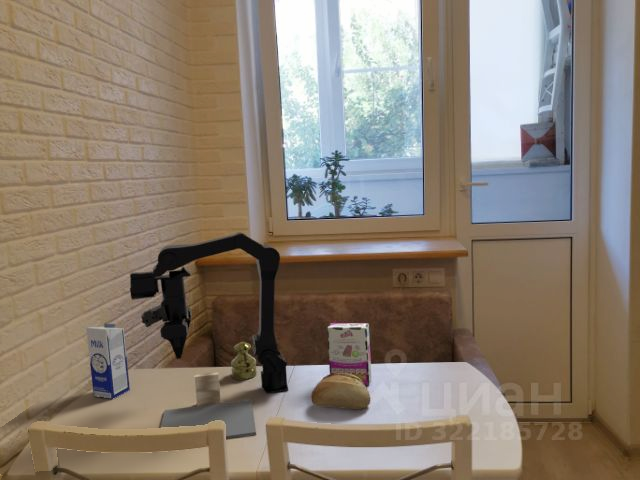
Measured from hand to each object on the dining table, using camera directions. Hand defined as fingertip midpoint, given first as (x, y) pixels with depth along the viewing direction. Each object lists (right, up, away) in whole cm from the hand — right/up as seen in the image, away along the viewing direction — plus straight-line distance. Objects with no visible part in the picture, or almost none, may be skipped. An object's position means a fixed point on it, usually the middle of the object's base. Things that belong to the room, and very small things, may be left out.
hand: (180, 352), depth 138 cm
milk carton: (-22, -14, +10) cm, 27 cm away
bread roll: (+42, -13, -5) cm, 44 cm away
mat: (+10, -15, -11) cm, 21 cm away
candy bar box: (+45, -10, +10) cm, 47 cm away
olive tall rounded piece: (+14, -11, +18) cm, 25 cm away
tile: (+8, -13, 0) cm, 15 cm away
